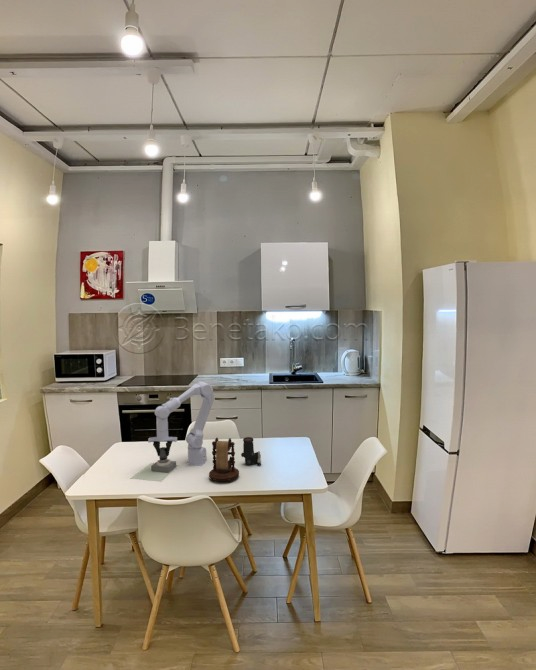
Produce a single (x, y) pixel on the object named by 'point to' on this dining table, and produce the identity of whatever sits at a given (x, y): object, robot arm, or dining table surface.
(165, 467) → the camera body
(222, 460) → the scroll
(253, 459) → the scope
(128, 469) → the dining table surface
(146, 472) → the mat
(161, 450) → the lens
